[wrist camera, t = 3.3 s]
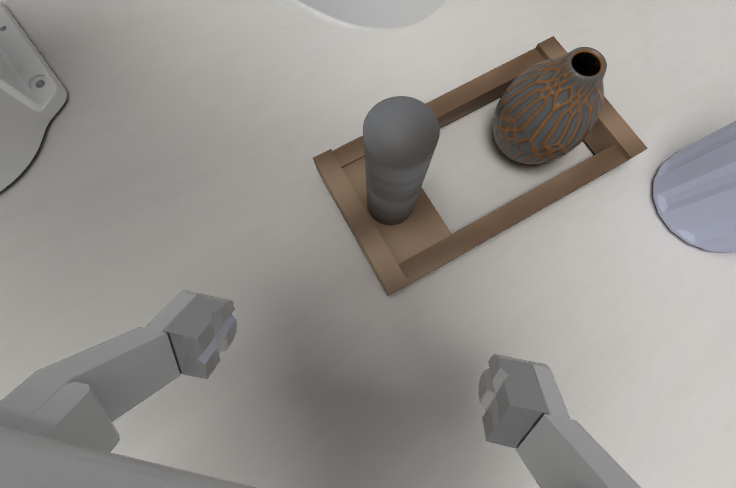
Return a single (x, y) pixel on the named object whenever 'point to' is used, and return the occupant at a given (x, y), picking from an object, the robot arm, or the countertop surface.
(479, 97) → the strip frame
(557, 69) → the vase
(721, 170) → the soap bottle
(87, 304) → the countertop surface
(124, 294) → the countertop surface
